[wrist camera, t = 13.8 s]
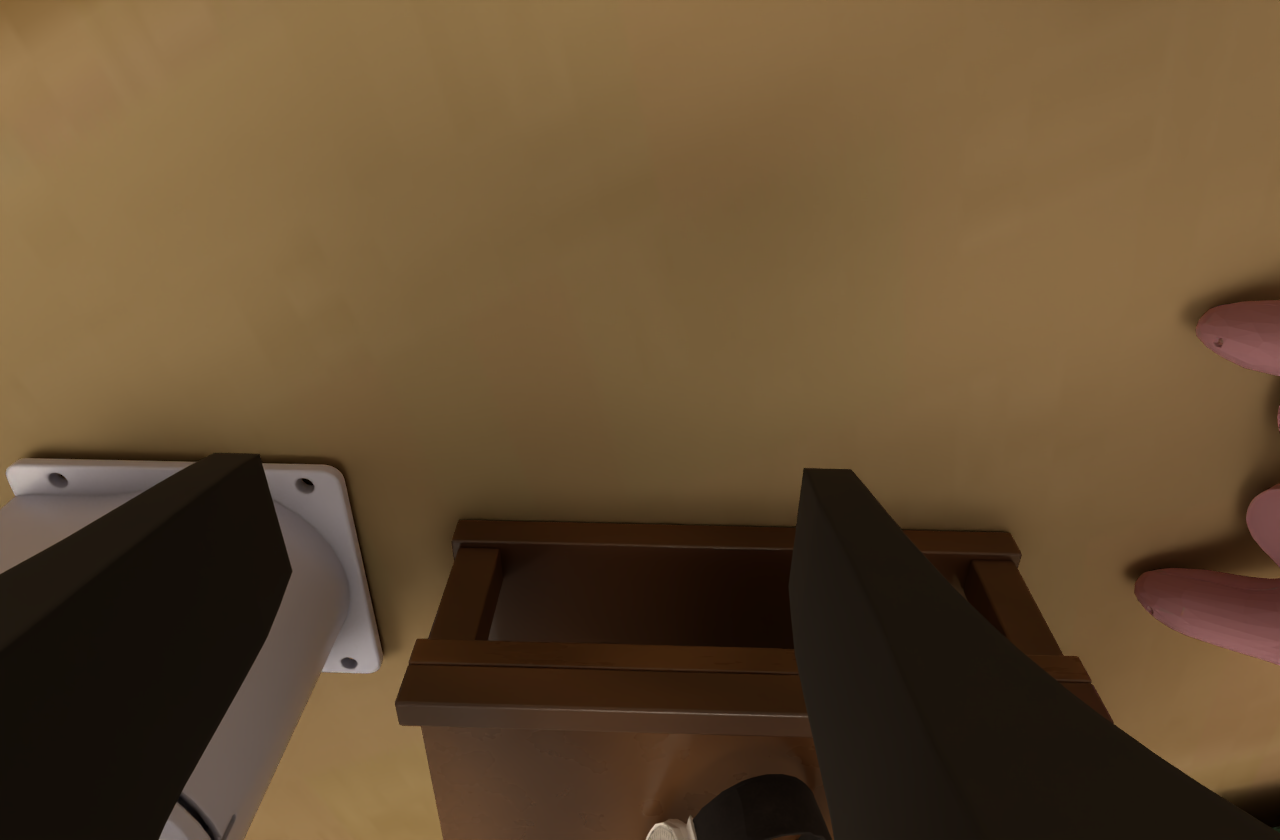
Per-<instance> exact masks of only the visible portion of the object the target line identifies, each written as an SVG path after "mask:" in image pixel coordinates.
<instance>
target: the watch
mask: <svg viewBox="0 0 1280 840" xmlns="http://www.w3.org/2000/svg"><path fill="white" fill-rule="evenodd" d="M790 835H801V836H800V837H799V839H798V840H832V838H831V835H830V833H829V831H828V828H827V826H826V823H825V821H824V819H823V816H822V814H821V811H820V809H819V807H818V804H817V802H816V799H815V798H814V795H813V792H812V791H811V789H810V788H809V787H808V786H807V785H806V784H805V783H804V782H803V781H801V780H800V779H798V778H797V777H794V776H789V775H785V774H765V775H761V776H756V777H752V778H749V779H747V780H744V781H741V782H739V783H737V784H735V785H733V786H731V787H730V788H728V789H726V790H724V791H722V792H721V793H720V794H719V795H717V796H716V797H715V798H714V799H712V800H711V801H710V802H709V803H708V804H706V805H705V806H704V807H703V808H702V809H701V810H700V811H699V813H698V814H697V815H696V816H695V818H694V819H693V818H692V817H691V815H690V816H689V819H688V822H687V824H685V823H684V822H682V821H680V820H678V819H668V820H666V821H665V822H662V823H657V824H655V825H654V826H653V827H652V829H651V830H650V832H649V833H648V835H647V837H646V840H771V839H774V838H778V837H782V836H790Z"/></svg>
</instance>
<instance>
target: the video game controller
mask: <svg viewBox="0 0 1280 840" xmlns="http://www.w3.org/2000/svg"><path fill="white" fill-rule="evenodd" d="M1195 330H1196V334H1197V337H1198V338H1199V339H1200V340H1201V341H1202V342H1203V343H1204V344H1205V345H1206V347H1208V348H1209V349H1211V350H1212V351H1214V352H1215V353H1217V354H1218V355H1220V356H1221V357H1223V358H1225V359H1227V360H1229V361H1231V362H1233V363H1235V364H1237V365H1240V366H1242V367H1244V368H1246V369H1251V370H1255V371H1259V372H1263V373H1268V374H1272V375H1276V376H1280V300H1267V301H1243V302H1238V303H1232V304H1226V305H1220V306H1217V307H1214V308H1211V309H1209V310H1208V311H1207V312H1206V313H1205V314H1204V315H1203V316H1202V317H1201V318H1200V319H1199V321H1198V324H1197V327H1196V329H1195ZM1277 421H1278V428H1279V432H1280V406H1279V409H1278V415H1277ZM1246 522H1247V526H1248V529H1249V531H1250V533H1251V536H1252V537H1253V539H1254V540H1255V541H1256V542H1257V544H1258V545H1259V546H1260V547H1261V548H1262V550H1263V551H1264V552H1265V553H1266V554H1267V555H1268V556H1269V557H1270V558H1271V559H1272V560H1273V561H1274V562H1275V563H1276V564H1277V565H1278V566H1279V567H1280V483H1278V484H1276V485H1274V486H1272V487H1270V488H1268V489H1267V490H1265V491H1263V492H1262V493H1260V494H1259V495H1257V496H1256V497H1255V498H1254V499H1253V500H1252V501H1251V503H1250V505H1249V507H1248V509H1247V515H1246ZM1134 593H1135V595H1136V597H1137V599H1138V601H1139V602H1140V603H1141V604H1142V606H1143V607H1144V608H1145V609H1146V610H1147V611H1148V612H1149V613H1150V614H1151V615H1152V616H1154V617H1155V618H1156V619H1157V620H1159V621H1160V622H1162V623H1163V624H1165V625H1167V626H1168V627H1170V628H1171V629H1173V630H1175V631H1178V632H1180V633H1182V634H1184V635H1187V636H1190V637H1193V638H1196V639H1199V640H1202V641H1205V642H1208V643H1211V644H1214V645H1216V646H1219V647H1223V648H1226V649H1229V650H1233V651H1236V652H1239V653H1242V654H1246V655H1249V656H1252V657H1255V658H1259V659H1262V660H1265V661H1268V662H1271V663H1274V664H1277V665H1280V578H1278V579H1267V578H1256V577H1247V576H1241V575H1235V574H1229V573H1223V572H1217V571H1211V570H1205V569H1185V568H1166V569H1158V570H1153V571H1149V572H1147V571H1146V572H1144V573H1142V574H1141V576H1140V577H1139V578H1138V579H1137V580H1136V582H1135V590H1134Z"/></svg>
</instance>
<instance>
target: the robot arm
mask: <svg viewBox="0 0 1280 840" xmlns="http://www.w3.org/2000/svg"><path fill="white" fill-rule="evenodd" d="M59 474H61V475H63V476H64V477H65V478H66V479H64V478H63V477H61V476H60V475H59ZM6 476H7V480H8V482H9V484H10V486H11V488H12V490H13V492H14V494H15V497H14V498H13V499H11V500H10V501H9V502H8V503H7V504H6V505H5V506H4V507H2V508H1V509H0V840H244V838H245V836H246V834H247V831H248V829H249V827H250V825H251V823H252V821H253V818H254V816H255V814H256V812H257V810H258V808H259V805H260V803H261V801H262V799H263V797H264V795H265V792H266V790H267V788H268V786H269V784H270V782H271V779H272V777H273V775H274V773H275V771H276V769H277V766H278V764H279V762H280V760H281V758H282V756H283V753H284V751H285V749H286V747H287V745H288V743H289V740H290V738H291V736H292V734H293V732H294V730H295V727H296V725H297V723H298V721H299V719H300V717H301V715H302V712H303V710H304V708H305V706H306V704H307V702H308V699H309V697H310V695H311V693H312V691H313V689H314V686H315V684H316V682H317V680H318V678H319V676H320V673H321V672H334V673H374V672H376V671H378V669H379V668H380V666H381V664H382V661H383V653H382V648H381V643H380V639H379V634H378V630H377V625H376V621H375V616H374V611H373V607H372V602H371V598H370V593H369V588H368V584H367V579H366V575H365V570H364V566H363V561H362V556H361V552H360V547H359V543H358V538H357V534H356V529H355V524H354V520H353V515H352V511H351V506H350V502H349V497H348V492H347V488H346V483H345V479H344V477H343V475H342V473H341V472H340V471H339V470H338V469H336V468H334V467H332V466H329V465H324V464H278V463H262V461H261V458H260V454H239V453H213V454H211V455H209V456H207V457H205V458H203V459H201V460H199V461H197V462H185V461H138V460H92V459H45V458H22V459H18V460H17V461H15V462H14V463H13V464H12V465H10V466H9V467H8V468H7V470H6ZM301 478H305V479H308V480H310V481H311V482H312V483H313V484H314V485H308V484H306V483H304V482H303V481H302V479H301ZM788 587H789V598H790V610H791V621H792V631H793V641H794V651H795V658H796V663H797V667H798V672H799V677H800V681H801V686H802V691H803V695H804V700H805V705H806V709H807V714H808V718H809V723H810V727H811V732H812V736H813V741H814V745H815V750H816V754H817V759H818V763H819V768H820V772H821V777H822V781H823V786H824V791H825V795H826V800H827V804H828V809H829V813H830V819H831V824H832V830H833V836H834V840H1280V833H1279V832H1277V831H1276V830H1274V829H1272V828H1271V827H1269V826H1267V825H1266V824H1264V823H1262V822H1261V821H1259V820H1258V819H1256V818H1254V817H1253V816H1251V815H1250V814H1248V813H1246V812H1245V811H1243V810H1242V809H1240V808H1238V807H1237V806H1235V805H1234V804H1232V803H1230V802H1229V801H1227V800H1225V799H1224V798H1222V797H1221V796H1219V795H1217V794H1216V793H1214V792H1213V791H1211V790H1209V789H1208V788H1206V787H1205V786H1203V785H1201V784H1200V783H1198V782H1197V781H1195V780H1194V779H1192V778H1191V777H1189V776H1188V775H1186V774H1185V773H1183V772H1182V771H1180V770H1179V769H1177V768H1176V767H1174V766H1173V765H1171V764H1170V763H1168V762H1167V761H1165V760H1164V759H1162V758H1161V757H1159V756H1158V755H1156V754H1155V753H1153V752H1152V751H1151V750H1149V749H1148V748H1146V747H1145V746H1144V745H1142V744H1141V743H1139V742H1138V741H1137V740H1135V739H1134V738H1132V737H1131V736H1130V735H1128V734H1127V733H1125V732H1124V731H1123V730H1121V729H1120V728H1118V727H1117V726H1116V725H1114V724H1113V723H1111V722H1110V721H1109V720H1107V719H1106V718H1104V717H1103V716H1102V715H1100V714H1099V713H1098V712H1096V711H1095V710H1094V709H1092V708H1091V707H1090V706H1088V705H1087V704H1086V703H1084V702H1083V701H1082V700H1081V699H1079V698H1078V697H1077V696H1075V695H1074V694H1073V693H1071V692H1070V691H1069V690H1068V689H1066V688H1065V687H1064V686H1063V685H1062V684H1060V683H1059V682H1058V681H1057V680H1055V679H1054V678H1053V677H1052V676H1051V675H1049V674H1048V673H1047V672H1046V671H1045V670H1043V669H1042V668H1041V667H1040V666H1039V665H1037V664H1036V663H1035V662H1034V661H1033V660H1031V659H1030V658H1029V657H1028V656H1027V655H1025V654H1024V653H1023V652H1022V651H1021V650H1019V649H1018V648H1017V647H1016V646H1015V645H1014V644H1013V643H1012V642H1010V641H1009V640H1008V639H1007V638H1006V637H1005V636H1004V635H1003V634H1001V633H1000V632H999V631H998V630H997V629H996V628H995V627H994V626H993V625H992V624H991V623H990V622H989V621H988V620H987V619H986V618H985V617H984V616H982V615H981V614H980V613H979V612H978V611H977V610H976V609H975V608H974V607H973V606H972V605H971V604H970V603H969V602H968V601H967V600H966V599H965V598H964V597H963V596H962V595H961V594H960V593H959V592H958V591H957V590H956V589H955V588H954V587H953V586H952V585H951V584H950V583H949V582H948V581H947V579H946V578H945V577H944V576H943V575H942V574H941V573H940V572H939V571H938V570H937V569H936V567H935V566H934V565H933V564H932V563H931V562H930V561H929V560H928V559H927V558H926V557H925V556H924V554H923V553H922V552H921V551H920V550H919V549H918V548H917V547H916V546H915V544H914V543H913V542H912V541H911V540H910V539H909V538H908V536H907V535H906V534H905V533H904V532H903V531H902V529H901V528H900V527H899V526H898V525H897V524H896V522H895V521H894V520H893V519H892V518H891V516H890V515H889V514H888V513H887V512H886V510H885V509H884V508H883V507H882V506H881V504H880V503H879V502H878V501H877V500H876V498H875V497H874V496H873V495H872V493H871V492H870V491H869V490H868V489H867V487H866V486H865V485H864V484H863V483H862V481H861V480H860V479H859V478H858V477H857V476H856V474H855V473H854V472H853V471H852V470H851V469H816V468H804V470H803V478H802V485H801V493H800V501H799V508H798V516H797V524H796V532H795V539H794V547H793V555H792V563H791V570H790V578H789V586H788ZM348 657H349V658H348ZM350 658H353V659H350Z"/></svg>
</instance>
